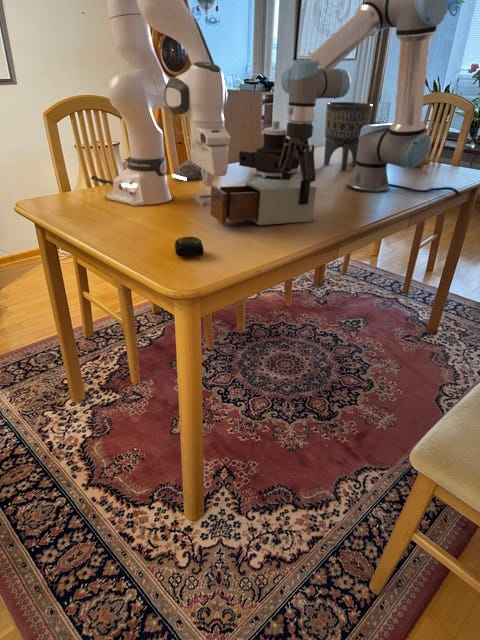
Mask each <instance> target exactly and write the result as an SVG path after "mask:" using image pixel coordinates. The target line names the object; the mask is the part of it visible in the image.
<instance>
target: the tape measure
mask: <svg viewBox="0 0 480 640" xmlns="http://www.w3.org/2000/svg"><path fill="white" fill-rule="evenodd" d="M174 249H175V251H174V252H175V255H176V256H178V257H185V258H191V257H201V256H203V255H204V254H205V251H204V246H203V242H202V240H201V239H200V238H199V237H196V236H182V237H179V238H177V239H176V240H175V242H174Z"/></svg>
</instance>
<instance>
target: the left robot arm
mask: <svg viewBox="0 0 480 640" xmlns="http://www.w3.org/2000/svg"><path fill="white" fill-rule="evenodd" d="M106 5H107V13H108V19H109V24H110V29H111V35H112V38H113V45H114V47H115V51H116V52H117V54H118V55H119V56H120V57H121V58H122V59H123V60H124V61H125V63H126V65H127V67H128V69H129V71H124V72H121V73H119V74H116V75H115V76H113V77H111V78H110V80H109V81H108V84H107V97H108V100H109V102H110V103H111V106H112V107H113V108H114V109H116V110H117V111H118V113H119V115H120V116H121V118H122V120H123V123H124V125H125V128H126V131H127V132H126V133H127V138H128V145H129V155H130V156H129V157H127V158H124V159H123V161H124V162H123V163H124V164H127V166H126V168H125V169H124V170H123V171H122V172H121V173H120V174H119V175H117V176H116V177H115V178H114V179H113V181H111V180H108V179H102V178H99V177H97V176H96V175H92V176H91V178H90V180H96V181H97V182H100V183H105V184H110V185H112V191H111V192H109V193H108V194H107V195H106V199H107V200H111V201H115V202H119V203H123V204H127V205H131V206H134V207H136V206H146V205H159V204H164V203H168V202H169V201H171V200H172V199H173V197H172V195H171V192H170V188H169V184H168V177H167V159H166V158H167V157H166V156H165V145H164V133H163V130H162V129H161V128H160V126H158V124H157V123H156V120H155V118H154V114H153V111H155V110H156V111H157V110H160V109H163V108H164V107H167V109H168V110H169V111H170V113H172V114H173V115H175V116H178V117H179V116H180V117H187V116H190V161H191V162H193V163H195V164H196V165H198V166H199V167H201V172H202V176H203V177H202V184H203V185H205V186H206V187H207V188H209V187H210V188H211V186H214V185H213V180H214V177H224V176H226V175H227V173H228V168H229V146H228V145H230V144H231V135H230V134H229V133H228V131H227V130H226V127H225V117H224V109H225V107H226V104H227V102H228V91H227V90H228V89H227V86H226V83H225V79H224V73H223V70H222V68H221V67H220V66H219V65H218V64H216V63H215V62H214V59H213V57H212V54H211V52H210V50H209V47H208V44H207V41H206V39H205V36H204V34H203V32H202V29H201V26H200V25H199V23H198V21H197V19H196V17H195V16H194V15H193V14H192V12H191V11H190V10H189V8H188V7H187V5H186V3H185V1H184V0H106ZM151 28H152V29H153V30H155V31H157V32H158V33H161V34H163V35H165V36H167V37H170V38H171V39H173V40H175V41H176V42H178V43H179V45H181V46H182V48H183V49H184V50H185V52H186V54H187V56H188V59H189V61H190V63H191V65H190V67H189V69H188V70H187V71H184V72H183V73H180V74H179V75H177V76H174V77H169V76H168V75H167V74H166V73H165V71H164V69H163V67H162V65H161V63H160V61H159V59H158V56H157V54H156V51H155V47H154V43H153V38H152V34H151ZM171 176H172V177H171V178H175V179H176V178H179V179H182V180H181V181H183V180H186V178H185V177H181V176H177V175H176V174H174V173H172V174H171ZM179 179H178V180H179ZM186 181H187V180H186Z"/></svg>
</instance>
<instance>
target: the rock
mask: <svg viewBox="0 0 480 640" xmlns="http://www.w3.org/2000/svg"><path fill="white" fill-rule="evenodd" d="M175 175H177V176H181V177H185V178H186V180H182V179H179V178H175V179H176V180H180V181H187V182H189V181H196V180H197V181H198V180H200V179H201V178H203V176H202V172H201V167H199V166H198V165H196V164H195V163H193V162H192V161H191V160H188V159H185V161H184V162H183V163H181V165H180V166H178V167H177V168H176V172H175Z"/></svg>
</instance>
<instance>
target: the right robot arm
mask: <svg viewBox="0 0 480 640" xmlns="http://www.w3.org/2000/svg"><path fill="white" fill-rule="evenodd" d="M448 7H449V0H364V1H363V2H362V3H361V4H360V5H359V6H358V7H357V9H356V10H355V14H354V15H353V16H352V17H351V18H350V19H349V20H348V21H346V22H345V24H343V25H342V26H341V27H340V28H339V29H338V30H337V31H336V32H334V33H333V34H332V35H331V36H330V37H329V38H328V39H326V40H325V41H324V42H323V43H322V44H321V45H320V46H319V47H318V48H316V49H315V50H314V51H313V52H312V53H311V54H310V55H309V56H307V58H305V59H295V60H293V62H292V64H291V66H290V67H287V68H286V69H284V71H283V72H282V74H281V77H280V85H281V89H282V90H283V91H284V92H285V93H286V94H288V108H287V120H288V122H287V123H286V129H287V132H286V135H287V138H284V145H283V150H282V154H281V158H280V162H279V166H278V169H281V173H282V178H281V180H286V179H291V178H292V177H291V175H292V173H288V172H291V170H290V169H291V167H292V164H293V162H294V160H295V158H297V160H298V161H299V169H300V175H301V180H302V181H301V185H300V196H299V204H300V205H303V204H308V198H309V191H310V185H311V183H312V182H316V179H317V178H316V166H315V165H316V164H315V145H314V144H309V139H311V138H312V137H313V134H314V133H313V132H314V124H313V123H314V121H315V116H316V103H317V100H318V99H334V100H336V99H340V98H344V97H346V95H347V94H348V93H349V91H350V89H351V84H352V79H351V76H350V73H349V71H347V70H346V69H343V68H337V66H338V65H339V64H340V63H341V62H342V61H343V60H344V59H346V58H347V56H349V55H350V54H351V53H352V52H353V51H354V50H355V49H357V47H359V46H360V45H361V44H362V43H363V42H365V40H366V39H367V38H369V37H374V36H375V35H377V34H378V33H379V32H381V31H383V30H386V29H389V28H396V31H395V36H396V38H397V39H398V40H399V42H400V43H399V44H400V46H399V57H398V58H399V59H398V69H397V83H396V84H397V85H396V95H395V96H396V97H395V111H394V122H393V123H379V124H376V123H375V124H369V125H365V126H363V127H362V128H361V132H360V136H359V142H358V150H357V158H356V165H355V166H354V167H353V171H351V174H350V176H349V179H348V182H347V187H348V188H349V189H351V190H354V191H358V192H363V193H364V192H365V193H382V192H386V191H388V189H389V187H390V188H395V189H401V190H406V191H410V192H414V193H420V194H421V193H422V194H423V193H424V194H425V193H429V192H436V191H451V192H454V193H455V194H456V195H460V194H461V193H460V192H459V190H457V189H456V188H455V187H450V186H445V187H443V186H442V187H431V188H426V189H416V188H413V187H412V188H411V187H407V186H404V185H397V184H392V183H389V178H388V173H387V172H388V171H387V166H388V165H392V166H396V167H400V168H402V169H403V168H407V169H414V168H417V167H418V165H420V164H421V163H422V162H423V161H424V159H425V158H427V156H428V154H429V152H430V149H431V145H432V139H431V137H430V135H429V134H428V133H426V132H425V131H426V124H425V123H424V122H423V120H422V116H423V107H424V97H425V90H426V89H425V88H426V79H427V71H428V69H427V68H428V61H429V52H430V41H431V38H432V37H433V36H434V35H435V34H436V32H437V27H438V26H439V25H440V24H441V23H443V21H444V19H445V16H446V14H447V12H448ZM335 67H336V68H335ZM282 164H283V165H282Z"/></svg>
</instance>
